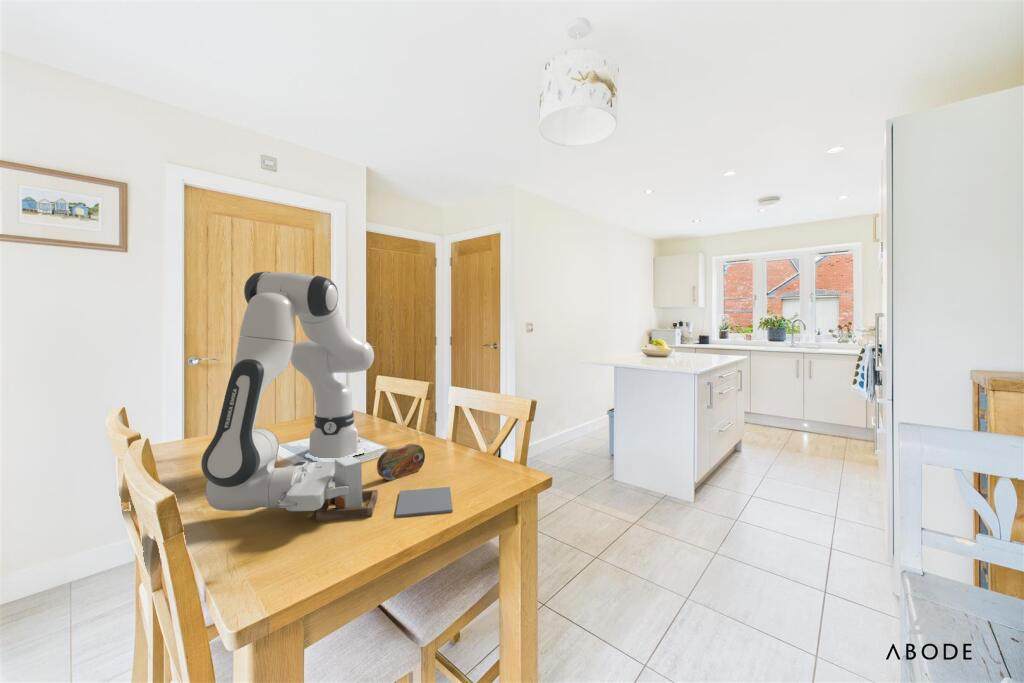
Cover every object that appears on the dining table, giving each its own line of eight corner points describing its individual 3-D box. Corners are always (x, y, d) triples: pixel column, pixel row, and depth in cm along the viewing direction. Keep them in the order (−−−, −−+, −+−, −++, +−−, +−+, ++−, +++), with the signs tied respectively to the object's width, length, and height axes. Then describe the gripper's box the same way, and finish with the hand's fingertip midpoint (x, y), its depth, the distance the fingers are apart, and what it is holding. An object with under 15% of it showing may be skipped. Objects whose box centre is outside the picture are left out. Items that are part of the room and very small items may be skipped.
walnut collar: (327, 501, 98) (327, 493, 98) (377, 497, 101) (377, 489, 100) (316, 521, 88) (315, 512, 88) (371, 516, 91) (371, 508, 91)
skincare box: (334, 507, 95) (333, 459, 94) (351, 501, 98) (351, 454, 97) (345, 516, 91) (344, 465, 90) (363, 509, 94) (362, 460, 93)
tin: (381, 484, 109) (381, 454, 108) (375, 481, 111) (375, 452, 110) (425, 469, 120) (425, 442, 120) (419, 466, 122) (419, 440, 122)
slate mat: (400, 493, 103) (400, 490, 103) (449, 489, 106) (449, 486, 106) (395, 517, 90) (395, 514, 90) (452, 512, 93) (452, 509, 93)
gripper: (271, 492, 81) (342, 487, 84) (302, 458, 101) (359, 454, 104) (272, 522, 82) (343, 515, 84) (303, 482, 102) (359, 478, 104)
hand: (352, 481), depth 94 cm, fingers closed on skincare box, 7 cm apart
